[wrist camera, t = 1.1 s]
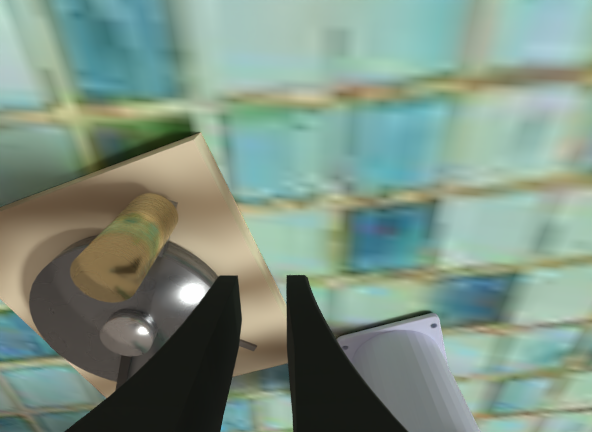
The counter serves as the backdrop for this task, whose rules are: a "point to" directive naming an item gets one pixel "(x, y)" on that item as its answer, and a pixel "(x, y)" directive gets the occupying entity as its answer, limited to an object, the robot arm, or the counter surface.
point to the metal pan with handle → (119, 291)
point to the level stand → (187, 234)
